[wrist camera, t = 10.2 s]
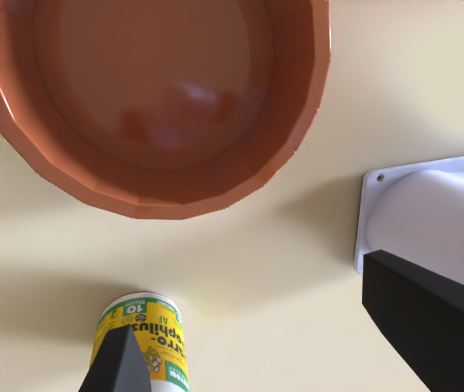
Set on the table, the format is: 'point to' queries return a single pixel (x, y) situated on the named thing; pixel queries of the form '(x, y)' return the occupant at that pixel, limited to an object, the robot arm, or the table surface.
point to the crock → (161, 96)
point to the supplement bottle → (151, 337)
